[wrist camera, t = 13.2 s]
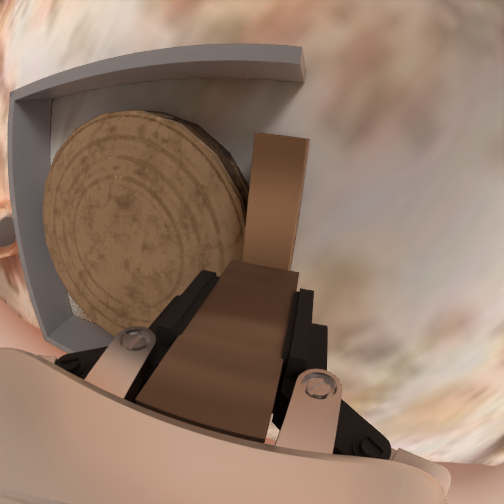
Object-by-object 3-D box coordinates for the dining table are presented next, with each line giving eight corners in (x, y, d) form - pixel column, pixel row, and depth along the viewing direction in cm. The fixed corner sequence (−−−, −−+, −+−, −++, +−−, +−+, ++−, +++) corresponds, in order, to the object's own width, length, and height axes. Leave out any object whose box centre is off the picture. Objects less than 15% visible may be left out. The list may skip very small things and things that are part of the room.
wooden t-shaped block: (261, 133, 14) (99, 130, 3) (319, 140, 14) (328, 142, 3) (239, 345, 20) (175, 498, 9) (281, 354, 19) (239, 516, 8)
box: (47, 91, 16) (10, 92, 12) (305, 69, 13) (301, 46, 9) (69, 318, 24) (44, 340, 21) (261, 381, 21) (249, 420, 18)
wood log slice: (230, 356, 21) (219, 383, 19) (71, 284, 23) (51, 300, 20) (295, 141, 15) (290, 141, 12) (78, 103, 16) (49, 104, 13)
